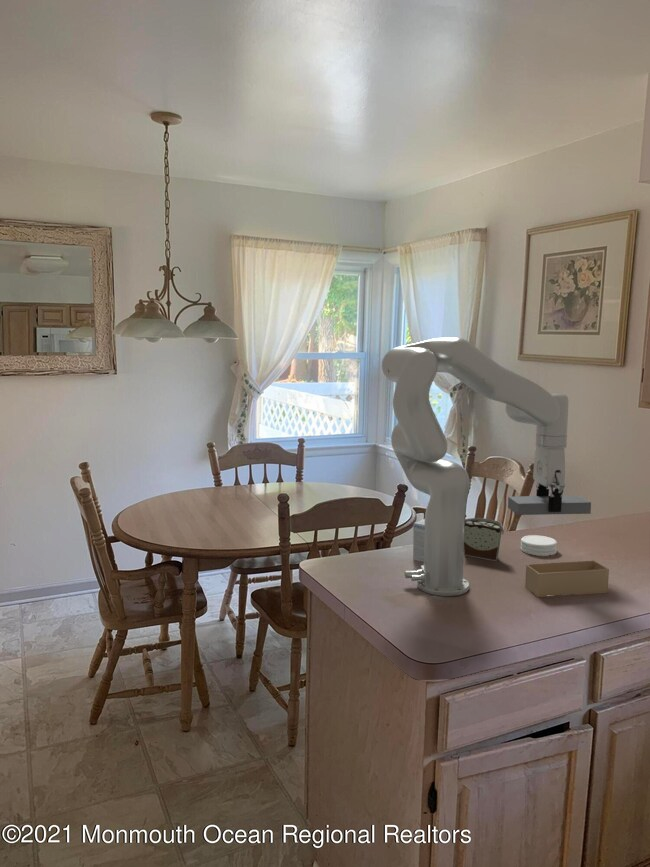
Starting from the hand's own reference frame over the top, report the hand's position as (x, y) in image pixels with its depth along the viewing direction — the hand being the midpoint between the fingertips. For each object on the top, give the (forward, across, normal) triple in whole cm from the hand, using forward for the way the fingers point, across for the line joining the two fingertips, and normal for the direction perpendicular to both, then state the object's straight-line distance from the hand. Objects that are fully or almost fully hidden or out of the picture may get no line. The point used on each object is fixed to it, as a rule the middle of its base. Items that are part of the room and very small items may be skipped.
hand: (548, 507), depth 166 cm
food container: (+17, -12, -13) cm, 25 cm away
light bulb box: (+17, -11, -28) cm, 35 cm away
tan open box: (+17, +14, -1) cm, 22 cm away
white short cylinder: (+17, -15, +4) cm, 23 cm away
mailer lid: (+1, 0, 0) cm, 1 cm away
